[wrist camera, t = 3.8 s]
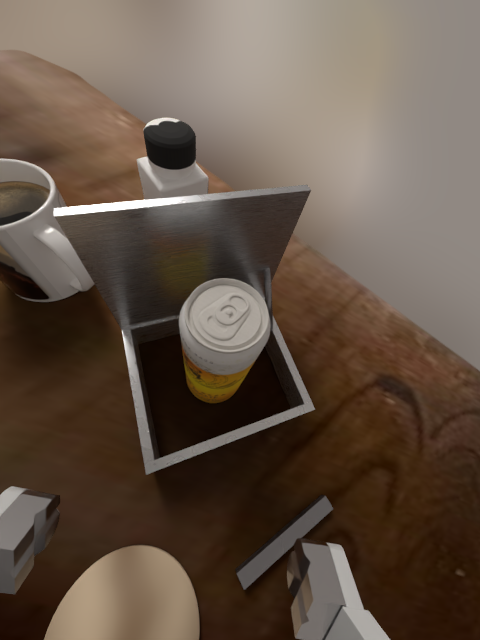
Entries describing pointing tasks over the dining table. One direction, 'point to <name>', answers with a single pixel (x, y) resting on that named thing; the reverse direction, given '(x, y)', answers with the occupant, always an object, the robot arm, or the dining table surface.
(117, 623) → the pad
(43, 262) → the mug
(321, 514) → the bar
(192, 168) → the medicine bottle
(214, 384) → the beer can
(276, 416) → the case
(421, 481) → the dining table surface
